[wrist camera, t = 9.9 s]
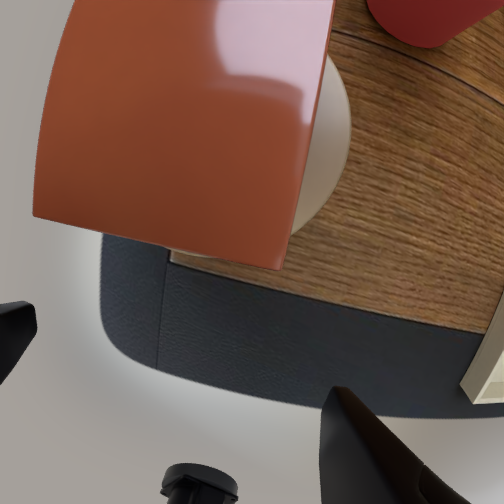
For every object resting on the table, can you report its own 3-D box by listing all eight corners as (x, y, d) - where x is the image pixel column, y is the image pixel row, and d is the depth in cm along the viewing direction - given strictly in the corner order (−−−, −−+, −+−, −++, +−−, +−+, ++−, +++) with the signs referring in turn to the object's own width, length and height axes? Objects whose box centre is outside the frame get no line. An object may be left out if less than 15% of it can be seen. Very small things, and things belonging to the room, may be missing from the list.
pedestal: (264, 226, 20) (244, 308, 9) (173, 162, 19) (55, 168, 8) (332, 135, 18) (402, 99, 7) (237, 71, 17) (186, -27, 6)
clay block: (117, 194, 8) (30, 216, 5) (148, 37, 7) (80, -16, 3) (281, 226, 8) (281, 273, 5) (315, 54, 7) (338, -14, 3)
